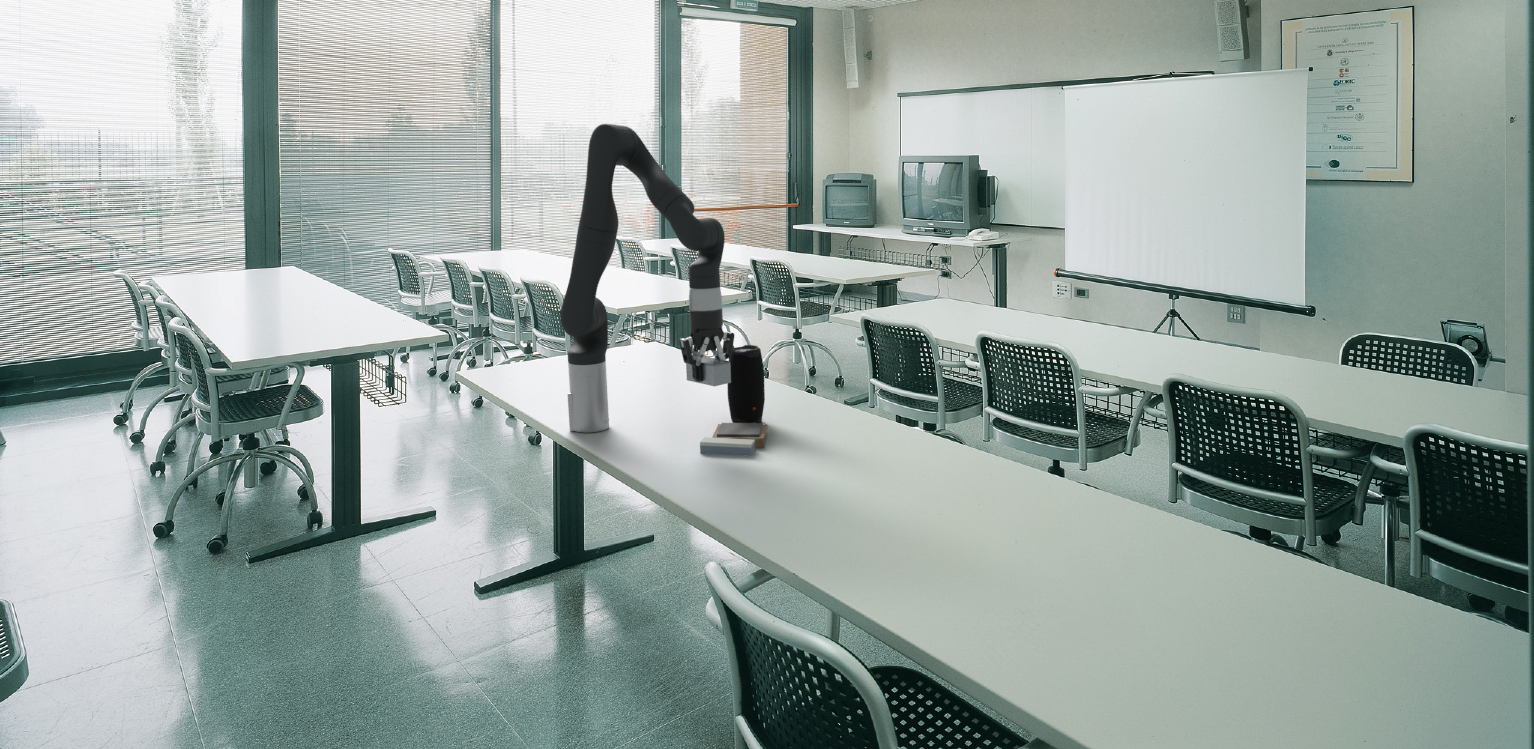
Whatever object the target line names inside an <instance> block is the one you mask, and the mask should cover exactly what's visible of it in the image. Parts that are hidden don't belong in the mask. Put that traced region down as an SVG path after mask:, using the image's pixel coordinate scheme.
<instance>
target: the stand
mask: <svg viewBox="0 0 1534 749" xmlns="http://www.w3.org/2000/svg"><path fill="white" fill-rule="evenodd" d="M767 436H768V424H765V423H763V422H762V423H756V422H754V423H733V422H721V423H719V424H718V423H717V426H716V428H715V431H714V432H713V435H712V436H711V438H730V439H751V440H755V449H764V447H765V444H766V440H767Z"/></svg>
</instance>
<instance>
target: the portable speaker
mask: <svg viewBox="0 0 1534 749" xmlns="http://www.w3.org/2000/svg"><path fill="white" fill-rule="evenodd" d="M728 361H730V368H731V383H727V401H728V407H729V408H728V409H729V415H730V418H731V419H730V420H731V421H732V422H731V423H763V414H764V408H765V400H766V398H765V397H766V396H765V392H766V391H765V368H764V367H765V366H764V362H763V357H762V351H761V348H760V347H759V346H758V345H753V344H744V345H743V346H736V347H735V346H733V350H732V357H731V358H728Z"/></svg>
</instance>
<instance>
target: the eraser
mask: <svg viewBox="0 0 1534 749" xmlns="http://www.w3.org/2000/svg"><path fill="white" fill-rule="evenodd" d="M755 451H756V448H755V440H751V439H730V438H712V437H710V436H709V437H707V436H705V437H703V438H702V439H701V440H700V442H699V453H700V454H704V455H705V454H706V453H708V454H706V455H722V456H723V455H726V456H728V455H729V456H743V455H747V457H749V456H750V457H752V456H753V454H754V453H755Z"/></svg>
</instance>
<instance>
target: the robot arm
mask: <svg viewBox="0 0 1534 749" xmlns="http://www.w3.org/2000/svg"><path fill="white" fill-rule="evenodd" d="M587 152H588V153H587V164H586V175H585V177H586V179H585V186H584V192H583V200H582V206H581V212H580V213H581V214H580V218H579V221H578V227H577V233H576V237H575V238H576V239H575V245H574V246H575V247H574V252H573V258H572V264H571V270H570V277H569V280H568V284H567V288H566V290H565V294H564V297H563V301H562V304H561V308H560V314H559V315H560V316H559V320H560V326H561V327H562V329H563V331H564V332H565V334H567V335H569V336H570V337H571V338H572V337H573V342H572V344H571V346H570V347H569V350H568V352H567V364H568V381H569V382H568V383H569V384H568V385H569V392H568V394H567V404H568V405H567V407H568V408H567V409H568V418H569V419H568V422H569V423H568V424H569V431H570V432H572V431H573V432H578V433H587V434H589V433H598V432H602V431H605V430H607V429H609V428H610V417H609V398H608V381H607V380H608V379H607V377H608V376H607V362H606V361H607V360H606V358H607V357H606V353H607V350H608V348H609V347H608V345H609V335H608V334H609V330H608V329H609V328H608V325H609V324H608V322H609V321H608V312H607V308H606V306H605V304H604V303H603V301H602V300H600V299H599V298H598V297H597V292H598V287H599V284H600V281H601V278H602V276H603V274H604V272H605V270H606V268H607V266H608V264H609V262H610V260H611V258H612V255H613V253H614V250H615V246H616V241H617V237H618V231H619V216H618V210H617V207H616V203H615V200H614V194H613V181H614V174H615V170H616V166H620V167H621V166H623V167H624V168H626V169H627V170H628V171H630V173H633V175H635V176H636V177H637V178H638V180H639V181H640V183H641V184H642V186H643V188H644V191H645V194H646V196H647V199H648V200H649V202H651V204H652V205H653V206H654V208H655V209H656V210H657V211H658V212H659V213H660V214H661V215H662V216H663V218H665V220H666V221H668V222H669V224H670V226H671V229H672V230H673V232H674V234H675V236H676V238H677V239H678V240H679V242H680V243H681V245H682V246H684V247H685V248H686V249H688V250H690V251H693V252H697V258H696V259H695V260H694V261H693V262H691V263H690V265H689V267H688V283H689V284H688V286H689V293H688V304H689V305H688V308H689V328H690V331H691V332H690V335H689V336H688V337H685V338H679V341H678V342H679V343H678V344H679V347H680V351H681V355H682V360H683V362H684V363H685V364H686V363H687V364H691V365H692V374H693V375H692V376H693V379H694V380H695V381H697V382H701V381H702V371H701V366H700V364H701V360H702V357H703V356H705V353H706V352H709V351H710V352H711V353H712V354H713V356H714V358H715V359H720V360H726V361H727V360H729V358H731V357H732V350H733V347H734V341H735V333H733V332H730V331H724V330H723V325H724V320H723V318H724V317H723V298H722V297H723V295H722V291H721V289H722V288H721V273H720V267H721V264H722V258H723V253H724V248H725V240H726V239H725V238H726V236H725V230H724V228H723V226H722V224H721V222H720V221H719V220H718V219H715V218H712V217H707V218H705V217H704V218H697V217H696V216H695V215H694V212H695V204H694V202H693V201H692V200H691V198H689V197H688V195H687V194H685V192H684V191H682V189H681V188H680V187H678V185H677V184H676V183H675V182H674V181H673V180H672V179H671V178H670V177H669V175H667V173H666V172H665V171H664V170H663V168H662V167H661V166H660V165H659V163H658V162H657V160H656V159H655V157H654V156H653V155H652V153H651V152H650V151H649V148H647V146H646V144H644V142H643V141H642V139H641V138H640V136H639V135H638V134H637V132H636V131H635V130H633V128H631V127H629V126H625V125H619V124H613V123H601V124H598V125H597V126H596V127H595V128H594V129H593V131H592V133H591V135H590V138H589V143H588V150H587ZM721 342H723V343H722V344H721ZM692 344H693V348H692ZM697 382H696V383H697Z"/></svg>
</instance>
